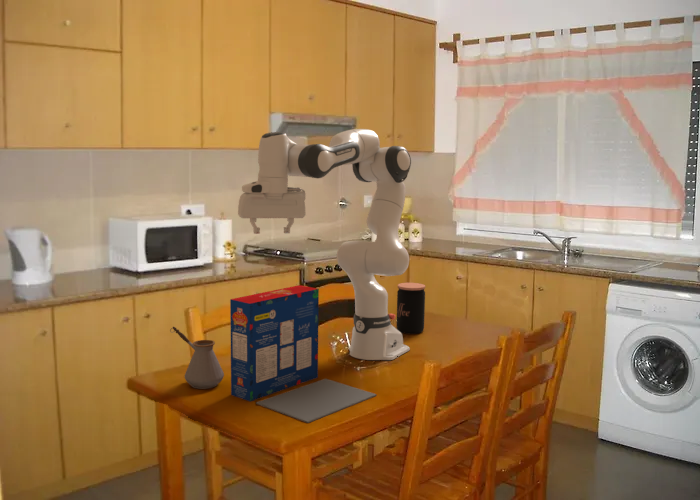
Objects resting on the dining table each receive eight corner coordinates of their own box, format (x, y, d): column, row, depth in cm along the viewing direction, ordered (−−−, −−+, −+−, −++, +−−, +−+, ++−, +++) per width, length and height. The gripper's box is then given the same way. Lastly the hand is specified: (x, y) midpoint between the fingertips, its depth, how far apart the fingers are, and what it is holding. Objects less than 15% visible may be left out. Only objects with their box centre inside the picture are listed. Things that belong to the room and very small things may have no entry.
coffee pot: (232, 384, 214) (231, 335, 211) (200, 394, 205) (199, 343, 203) (188, 368, 228) (187, 322, 225) (157, 377, 219) (156, 329, 217)
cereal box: (299, 371, 226) (299, 285, 222) (317, 377, 221) (318, 288, 217) (231, 394, 205) (230, 299, 201) (250, 401, 200) (249, 303, 196)
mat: (325, 379, 219) (325, 378, 219) (376, 395, 206) (376, 394, 206) (256, 403, 198) (256, 402, 198) (307, 423, 185) (307, 421, 185)
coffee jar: (392, 328, 281) (393, 283, 279) (417, 326, 284) (418, 282, 282) (402, 335, 271) (403, 288, 269) (428, 333, 274) (429, 287, 272)
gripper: (302, 187, 220) (300, 231, 222) (236, 186, 212) (236, 232, 213) (309, 188, 214) (308, 234, 216) (242, 187, 206) (241, 234, 208)
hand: (271, 233), depth 215 cm, fingers open, 8 cm apart
